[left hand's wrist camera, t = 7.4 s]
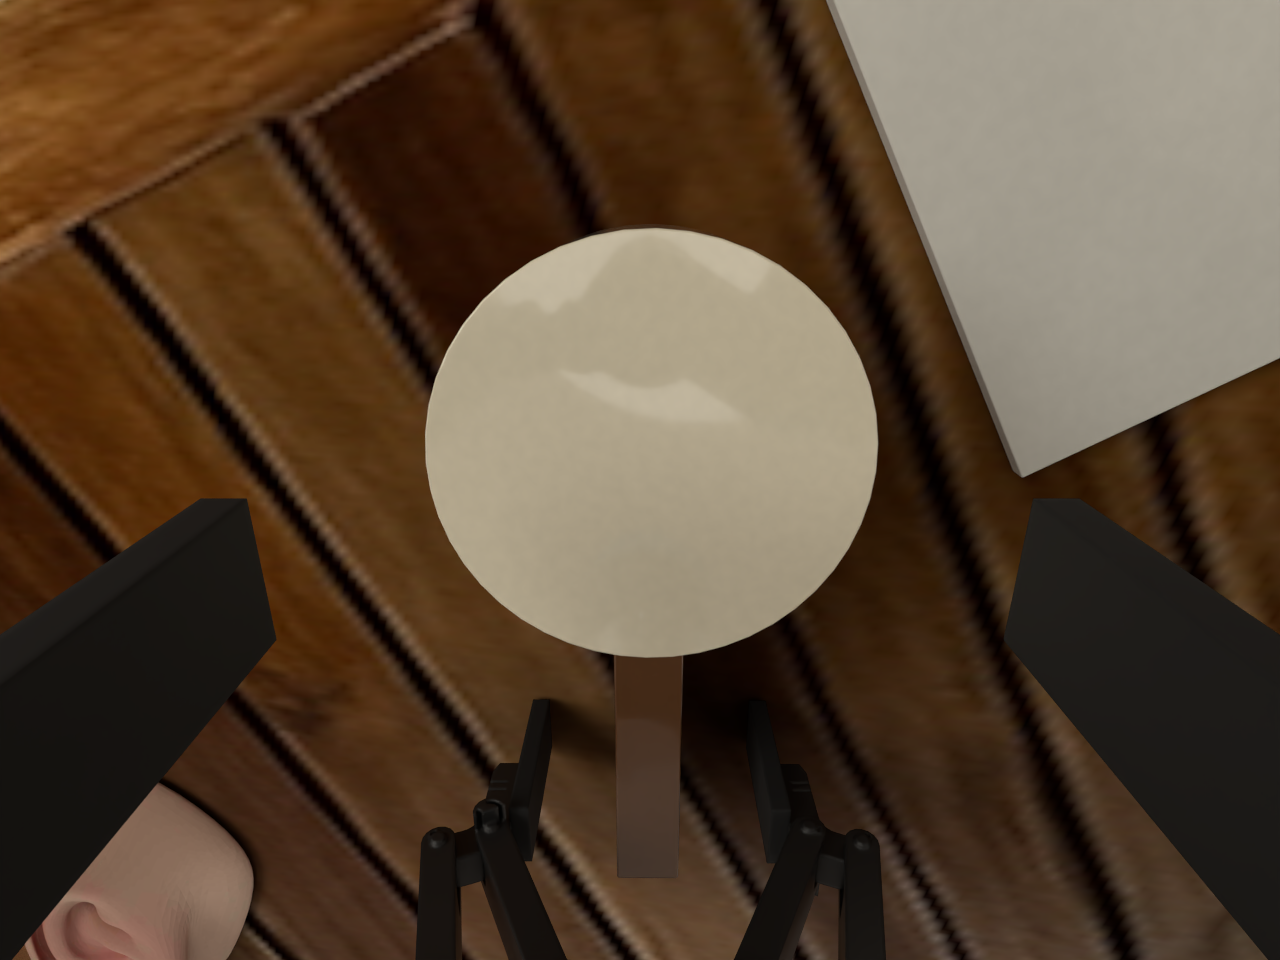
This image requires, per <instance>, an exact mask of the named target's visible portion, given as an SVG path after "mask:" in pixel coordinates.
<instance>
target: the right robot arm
mask: <svg viewBox="0 0 1280 960" xmlns="http://www.w3.org/2000/svg"><path fill="white" fill-rule="evenodd" d="M551 749H552V738H551V720H550V701H549V700H533V703H532V707H531V712H530V716H529V721H528V725H527V729H526V734H525V738H524V743H523V747H522V751H521V756H520V760H519V763H500V764H499V765H498V766H497V768H496V769H495V770H494V771H493V774H492V778H491V782H490V785H489V790H488V792H487V796H486V799H484V800H482V801H480V802H479V803H478V804H477V805H476V806H475V808H474V810H473V817H474V826H473V827H471V828H469V829H467V830H464V831H461V832H457V833H454V832H453V831H452V830H451V829H450V828H447V827H437V828H434V829H432V830H430V831H429V832H427V833H426V834H425V836H424V837H423V839H422V842H421V859H420V879H419V900H418V920H417V941H416V960H462V931H461V887H462V886H466V885H469V884H473V883H476V882H479V881H481V883H482V886H483V888H484V891H485V894H486V897H487V900H488V902H489V905H490V908H491V911H492V914H493V917H494V919H495V922H496V925H497V928H498V931H499V933H500V936H501V939H502V942H503V945H504V947H505V950H506V953H507V956H508V959H509V960H567V958H566V956H565V954H564V952H563V949H562V947H561V945H560V942H559V940H558V938H557V936H556V933H555V931H554V929H553V926H552V924H551V922H550V919H549V917H548V915H547V912H546V910H545V908H544V905H543V903H542V901H541V898H540V896H539V894H538V892H537V889H536V887H535V885H534V882H533V880H532V878H531V875H530V873H529V871H528V868H527V866H526V864H525V861H532V858H533V852H534V846H535V840H536V835H537V829H538V823H539V818H540V812H541V806H542V800H543V795H544V789H545V783H546V777H547V772H548V766H549V760H550V754H551ZM746 749H747V755H748V760H749V766H750V771H751V777H752V783H753V788H754V794H755V799H756V805H757V810H758V816H759V821H760V827H761V833H762V838H763V844H764V849H765V855H766V860H767V863H775V866H774V868H773V870H772V873H771V875H770V877H769V880H768V882H767V884H766V887H765V889H764V891H763V894H762V896H761V898H760V901H759V903H758V905H757V908H756V910H755V912H754V914H753V917H752V919H751V921H750V924H749V926H748V928H747V931H746V933H745V935H744V938H743V940H742V942H741V945H740V947H739V949H738V952H737V954H736V956H735V958H734V960H792V958H793V955H794V952H795V949H796V947H797V944H798V941H799V938H800V935H801V933H802V930H803V927H804V924H805V921H806V918H807V916H808V913H809V910H810V907H811V904H812V901H813V899H814V896H815V895H816V896H818V890H819V883H820V884H823V885H827V886H830V887H833V888H837V889H839V932H838V960H886V952H885V935H884V917H883V899H882V881H881V864H880V846H879V842H878V840H877V839H876V837H875V836H874V835H873V834H871V833H870V832H868V831H865V830H862V829H854V830H851V831H849V832H848V833H847V834H846V835H843V834H839V833H836V832H833V831H831V830H829V829H827V828H826V827H825V826H824V824H823V823H822V822H821V821H820V820H819V817H818V814H817V810H816V807H815V803H814V799H813V796H812V792H811V788H810V785H809V781H808V778H807V774H806V772H805V771H804V770H803V769H802V767H801V766H800V765H799V764H780V761H779V757H778V752H777V748H776V744H775V740H774V735H773V731H772V727H771V723H770V718H769V714H768V710H767V706H766V701H749V711H748V727H747V742H746Z"/></svg>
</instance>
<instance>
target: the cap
mask: <svg viewBox="0 0 1280 960" xmlns="http://www.w3.org/2000/svg"><path fill="white" fill-rule="evenodd" d="M425 449H426V466H427V472H428V479H429V485H430V490H431V493H432V497H433V500H434V503H435V507H436V510H437V513H438V516H439V518H440V521H441V523H442V525H443V527H444V529H445V532H446V534H447V536H448V538H449V540H450V542H451V544H452V545H453V547H454V549H455V550H456V552H457V553H458V555H459V557H460V558H461V560H462V561H463V563H464V564H465V566H466V567H467V568H468V569H469V571H470V572H471V573H472V574H473V575H474V577H475V578H476V579H477V580H478V582H479V583H480V584H481V585H482V586H483V587H484V588H485V589H486V590H487V591H488V592H489V593H490V594H491V595H492V596H493V597H494V598H495V599H496V600H497V601H499V602H500V603H501V604H502V605H503V606H505V607H506V608H507V609H509V610H510V611H511V612H513V613H514V614H515V615H517V616H518V617H519V618H521V619H522V620H524V621H526V622H527V623H529V624H531V625H532V626H534V627H536V628H538V629H539V630H541V631H543V632H545V633H547V634H549V635H551V636H554V637H556V638H558V639H561V640H563V641H565V642H567V643H570V644H573V645H577V646H580V647H583V648H586V649H590V650H593V651H598V652H603V653H608V654H613V655H619V656H630V657H644V658H652V657H675V656H681V655H688V654H695V653H701V652H704V651H708V650H712V649H716V648H719V647H723V646H726V645H729V644H731V643H734V642H737V641H739V640H742V639H744V638H747V637H749V636H751V635H753V634H755V633H757V632H759V631H761V630H763V629H765V628H767V627H768V626H770V625H772V624H774V623H775V622H777V621H778V620H780V619H781V618H783V617H784V616H786V615H787V614H788V613H790V612H791V611H793V610H794V609H796V608H797V607H798V606H799V605H800V604H801V603H802V602H804V601H805V600H806V599H807V598H808V597H809V596H810V595H811V594H813V593H814V592H815V591H816V590H817V589H818V588H819V586H820V585H821V584H822V583H823V582H824V581H825V580H826V579H827V577H828V576H829V575H830V574H831V573H832V572H833V571H834V569H835V568H836V566H837V565H838V563H839V562H840V560H841V559H842V558H843V556H844V555H845V553H846V552H847V550H848V549H849V547H850V545H851V543H852V541H853V539H854V537H855V535H856V533H857V531H858V529H859V528H860V526H861V523H862V521H863V518H864V515H865V512H866V509H867V507H868V504H869V501H870V498H871V494H872V489H873V484H874V479H875V475H876V468H877V454H878V430H877V415H876V410H875V405H874V400H873V396H872V391H871V386H870V383H869V381H868V378H867V375H866V372H865V370H864V367H863V364H862V362H861V359H860V357H859V355H858V353H857V351H856V349H855V347H854V346H853V344H852V342H851V340H850V338H849V336H848V334H847V333H846V331H845V330H844V328H843V327H842V326H841V324H840V323H839V322H838V320H837V319H836V317H835V316H834V315H833V313H832V312H831V311H830V309H829V308H828V307H827V306H826V305H825V304H824V303H823V302H822V301H821V300H820V299H819V298H818V297H817V296H816V295H815V294H814V293H813V292H812V291H811V290H810V289H809V288H808V287H807V286H806V285H805V284H804V283H803V282H801V281H800V280H799V279H797V278H796V277H795V276H793V275H792V274H791V273H790V272H788V271H787V270H786V269H784V268H783V267H782V266H780V265H778V264H777V263H775V262H773V261H771V260H769V259H768V258H766V257H764V256H762V255H760V254H759V253H757V252H755V251H753V250H751V249H749V248H746V247H744V246H742V245H739V244H737V243H735V242H732V241H730V240H727V239H724V238H722V237H719V236H717V235H714V234H711V233H708V232H704V231H700V230H695V229H691V228H687V227H682V226H671V225H660V224H647V225H627V226H622V227H617V228H612V229H606V230H601V231H598V232H595V233H592V234H589V235H586V236H583V237H580V238H577V239H575V240H572V241H570V242H568V243H566V244H564V245H562V246H560V247H558V248H556V249H554V250H552V251H550V252H548V253H546V254H544V255H542V256H540V257H538V258H536V259H534V260H532V261H531V262H529V263H528V264H526V265H525V266H523V267H522V268H520V269H519V270H518V271H516V272H515V273H513V274H512V275H510V276H509V277H507V278H506V279H505V280H504V281H503V282H502V283H500V284H499V285H498V286H497V287H496V288H495V289H494V290H493V291H492V292H491V293H490V294H489V295H487V296H486V297H485V298H484V299H483V300H482V301H481V302H480V304H479V305H478V306H477V307H476V309H475V310H474V311H473V312H472V314H471V315H470V316H469V317H468V319H467V320H466V321H465V322H464V323H463V325H462V326H461V328H460V330H459V331H458V333H457V335H456V336H455V338H454V340H453V341H452V343H451V345H450V346H449V348H448V350H447V352H446V354H445V357H444V359H443V362H442V364H441V366H440V369H439V371H438V373H437V376H436V379H435V382H434V386H433V390H432V394H431V398H430V402H429V405H428V414H427V422H426V431H425Z"/></svg>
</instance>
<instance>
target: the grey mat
mask: <svg viewBox="0 0 1280 960" xmlns="http://www.w3.org/2000/svg"><path fill="white" fill-rule="evenodd" d="M826 1H827V4H828V6H829V9H830V11H831V14H832V16H833V19H834V21H835V24H836V27H837V29H838V32H839V34H840V37H841V39H842V42H843V44H844V47H845V49H846V52H847V54H848V57H849V59H850V62H851V64H852V67H853V69H854V72H855V74H856V77H857V79H858V82H859V84H860V87H861V89H862V92H863V94H864V97H865V99H866V102H867V105H868V107H869V110H870V112H871V115H872V117H873V120H874V122H875V125H876V127H877V130H878V132H879V135H880V137H881V140H882V142H883V145H884V147H885V150H886V152H887V155H888V157H889V160H890V162H891V165H892V167H893V170H894V172H895V175H896V177H897V180H898V182H899V185H900V188H901V190H902V193H903V195H904V198H905V200H906V203H907V205H908V208H909V210H910V213H911V215H912V218H913V220H914V223H915V225H916V228H917V230H918V233H919V235H920V238H921V240H922V243H923V245H924V248H925V250H926V253H927V255H928V258H929V260H930V263H931V266H932V268H933V271H934V273H935V276H936V278H937V281H938V283H939V286H940V288H941V291H942V293H943V296H944V298H945V301H946V303H947V306H948V308H949V311H950V313H951V316H952V318H953V321H954V323H955V326H956V328H957V331H958V333H959V336H960V338H961V341H962V343H963V346H964V349H965V351H966V354H967V356H968V359H969V361H970V364H971V366H972V369H973V371H974V374H975V376H976V379H977V381H978V384H979V386H980V389H981V391H982V394H983V396H984V399H985V401H986V404H987V406H988V409H989V411H990V414H991V416H992V419H993V421H994V424H995V427H996V429H997V432H998V434H999V437H1000V439H1001V442H1002V444H1003V447H1004V449H1005V452H1006V454H1007V457H1008V459H1009V462H1010V464H1011V467H1012V469H1013V471H1014V472H1015V473H1017V474H1018V475H1019V476H1021V477H1025V476H1027V475H1029V474H1032V473H1034V472H1036V471H1038V470H1040V469H1042V468H1044V467H1047V466H1049V465H1051V464H1053V463H1055V462H1057V461H1060V460H1062V459H1064V458H1066V457H1068V456H1070V455H1072V454H1075V453H1077V452H1079V451H1081V450H1083V449H1085V448H1087V447H1090V446H1092V445H1094V444H1096V443H1098V442H1100V441H1103V440H1105V439H1107V438H1109V437H1111V436H1113V435H1115V434H1118V433H1120V432H1122V431H1124V430H1126V429H1128V428H1130V427H1133V426H1135V425H1137V424H1139V423H1141V422H1143V421H1145V420H1148V419H1150V418H1152V417H1154V416H1156V415H1158V414H1161V413H1163V412H1165V411H1167V410H1169V409H1171V408H1173V407H1176V406H1178V405H1180V404H1182V403H1184V402H1186V401H1188V400H1191V399H1193V398H1195V397H1197V396H1199V395H1201V394H1203V393H1206V392H1208V391H1210V390H1212V389H1214V388H1216V387H1219V386H1221V385H1223V384H1225V383H1227V382H1229V381H1231V380H1234V379H1236V378H1238V377H1240V376H1242V375H1244V374H1246V373H1249V372H1251V371H1253V370H1255V369H1257V368H1259V367H1262V366H1264V365H1266V364H1268V363H1270V362H1272V361H1274V360H1277V359H1279V358H1280V0H826Z"/></svg>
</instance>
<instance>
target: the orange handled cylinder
mask: <svg viewBox="0 0 1280 960" xmlns="http://www.w3.org/2000/svg"><path fill="white" fill-rule="evenodd" d="M614 684H615V751H616V818H617V876H618V877H619V878H677V877H678V853H679V814H680V774H681V734H682V694H683V655H681V656H675V657H652V658H644V657H630V656H619V655H614Z"/></svg>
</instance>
